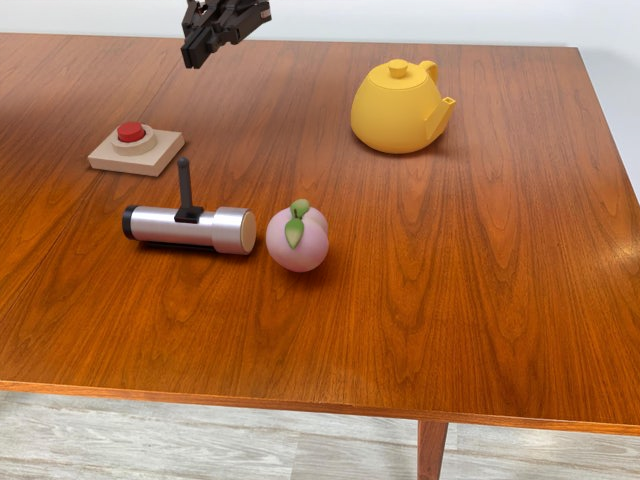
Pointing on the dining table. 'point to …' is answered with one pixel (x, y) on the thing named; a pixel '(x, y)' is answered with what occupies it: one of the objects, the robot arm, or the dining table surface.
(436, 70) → the teapot
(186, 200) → the flashlight switch
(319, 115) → the dining table surface
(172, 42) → the dining table surface
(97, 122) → the dining table surface
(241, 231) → the flashlight
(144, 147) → the beige dock base
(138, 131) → the dock button
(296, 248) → the decorative fruit
